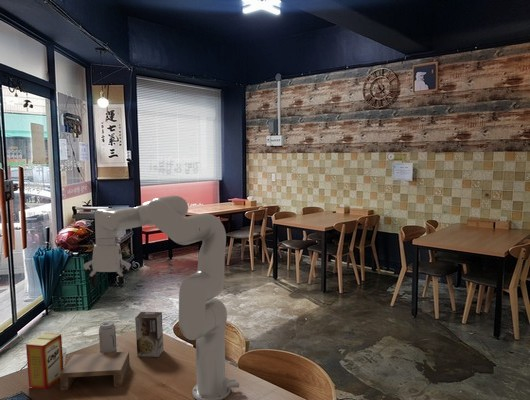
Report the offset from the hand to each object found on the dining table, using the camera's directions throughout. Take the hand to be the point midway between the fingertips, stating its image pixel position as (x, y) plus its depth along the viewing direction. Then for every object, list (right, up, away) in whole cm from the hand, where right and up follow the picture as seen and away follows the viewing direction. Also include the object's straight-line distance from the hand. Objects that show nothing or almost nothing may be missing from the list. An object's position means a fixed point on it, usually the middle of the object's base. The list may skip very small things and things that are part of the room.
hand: (107, 285), depth 163 cm
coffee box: (+13, -29, +10) cm, 34 cm away
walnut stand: (-1, -31, -9) cm, 32 cm away
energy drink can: (-1, -30, +4) cm, 30 cm away
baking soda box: (-18, -32, -11) cm, 38 cm away
